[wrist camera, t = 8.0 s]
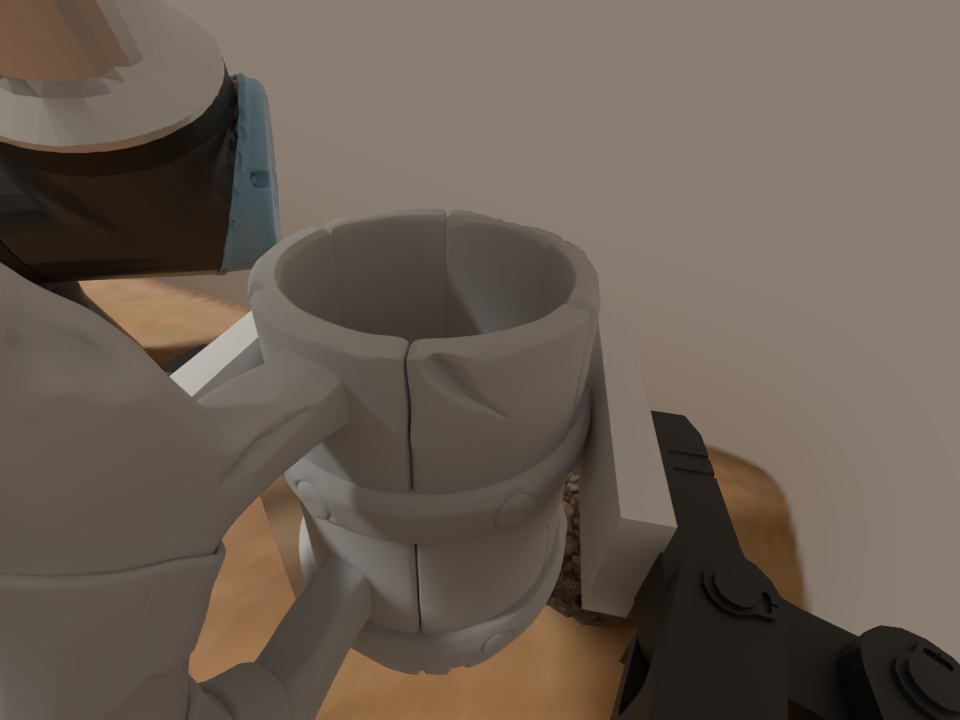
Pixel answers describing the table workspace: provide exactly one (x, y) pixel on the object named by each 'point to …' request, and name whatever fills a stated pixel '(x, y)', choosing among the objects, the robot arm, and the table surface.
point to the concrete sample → (577, 567)
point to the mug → (296, 469)
